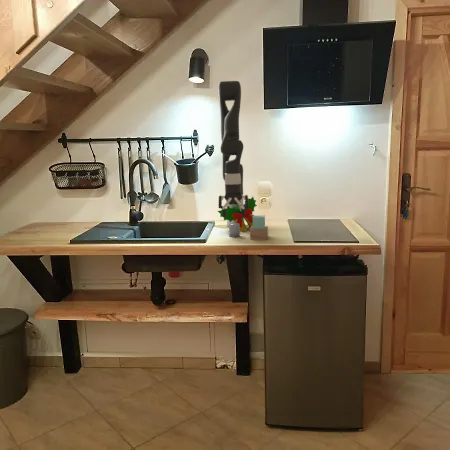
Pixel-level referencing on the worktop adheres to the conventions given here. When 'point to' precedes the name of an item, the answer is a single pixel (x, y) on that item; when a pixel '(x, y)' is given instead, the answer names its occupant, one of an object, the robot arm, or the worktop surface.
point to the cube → (259, 222)
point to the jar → (234, 230)
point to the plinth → (259, 234)
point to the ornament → (240, 214)
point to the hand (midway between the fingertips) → (233, 216)
